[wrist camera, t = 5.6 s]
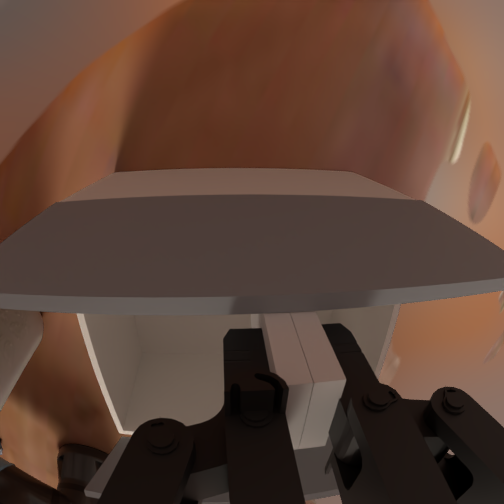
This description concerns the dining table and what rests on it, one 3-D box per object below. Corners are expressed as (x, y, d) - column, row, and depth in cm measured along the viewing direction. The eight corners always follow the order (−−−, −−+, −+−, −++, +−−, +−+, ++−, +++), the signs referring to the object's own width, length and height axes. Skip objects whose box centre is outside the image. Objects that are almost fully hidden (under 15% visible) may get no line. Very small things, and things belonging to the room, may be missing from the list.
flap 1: (-47, 303, 8) (-53, 289, 8) (57, 211, 18) (55, 202, 17) (532, 285, 10) (536, 273, 10) (420, 208, 20) (421, 200, 20)
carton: (139, 352, 39) (119, 433, 27) (114, 172, 31) (55, 204, 18) (328, 346, 42) (361, 421, 29) (351, 171, 33) (421, 202, 21)
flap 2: (414, 467, 18) (413, 473, 18) (360, 424, 28) (360, 429, 28) (84, 489, 15) (85, 496, 15) (121, 436, 26) (122, 441, 26)
